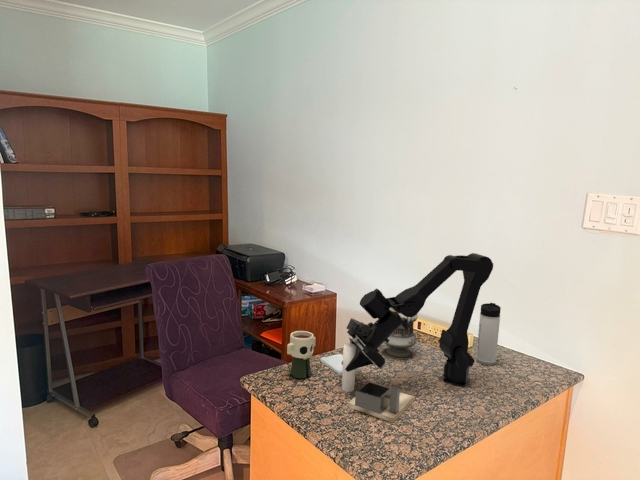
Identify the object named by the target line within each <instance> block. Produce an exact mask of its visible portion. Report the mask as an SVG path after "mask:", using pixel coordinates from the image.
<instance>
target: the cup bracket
mask: <svg viewBox="0 0 640 480" xmlns="http://www.w3.org/2000/svg"><path fill="white" fill-rule="evenodd" d="M400 392H401V388H400V387H397V386H395V385H393V386H392V387H389V386H386V385H383V384H380V383H376V382H372V381H370V380H368V381H366V382H365V383H364V384H362V385H361V386H360V387H359V388H357V389H356V390H355V395H354V397H355V406H358V407H361V408H364V409H367V410H370V411H373V412H376V413H379V414H381V413H382V412H383V411H384V410H385V409H386V408H387V407H388V406H389V405H390V407H389V412H390V413H393V414H397V413H398V412H399V397H400Z"/></svg>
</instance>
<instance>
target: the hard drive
mask: <svg viewBox="0 0 640 480" xmlns="http://www.w3.org/2000/svg"><path fill="white" fill-rule="evenodd" d="M319 360H320V361H321V362H322V363H323V364H324V365H325V366H327V367H328V368H329V369H331V370H332V371H333V372H335V373H336V374H337V375H338V376H342V371H343V365H342V364H341V363H342V361H343V354H341V353H339V354H334V355H328V356H322V357H320V359H319ZM362 370H363V369H362V367H360V368H357V369H355V373H358V372H362Z"/></svg>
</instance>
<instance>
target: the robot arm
mask: <svg viewBox="0 0 640 480" xmlns="http://www.w3.org/2000/svg"><path fill="white" fill-rule="evenodd" d="M493 269H494V263H493V261H492V259H491V258H490V257H489V256H485V255H482V254H479V253H475V252H473V253H472V252H471V253H470V254H467V255H461V254H460V255H453V254H452V255H451V254H450V255H449V254H448V255H446V256H445V257H444V258H443V260H442V261H441V262H440V263H438V265H436V266H435V267H434V268H433V269H432V270H431V271H429V272H428V274H427V275H425V276H424V277H423V278H422V279H421V280H420V281H419V282H417V284H415V285H413V286H411V287H409V288H406V289H404V290H403V291H401V292H400V293H398V294H397V295H396V296H392V297H385V296H384V294H383V292H382V291H381V290H380V289H378V288H375V289H374V290H373V291H369V292H367V293H366V294H364V295H363V296H362V298H361V299H360V301H359V305H360V306H361V307H362V309H364V310H365V312H366V313H367V314H368V315H369V316H370V317H371V318H372V319H377V320H375V322H374V323H373V322H368V323H364V322H362V321H359V320H356V319H354V318H350V319H349V322H348V324H347V326H346V330H347V331H346V333H347V334H348V335H349V336H350V337H348V338H349V339H348V340H349V344H354V345H356V355H355V357H354V358H353V359H352V360H351V362H350V363H349V364H348V365H347V367H346V368H345V370H346V371H347V372H349V371H352V370H354V369H357V368H362V367H367V366H370V365H372V366H373V365H375V366H377V368H379V369H381V368H383V366H384V365H386V359H385V357H384V356H382V354H381V353H380V350H379V348H380V347H381V346H382V345H383V344H385V343H384V342H385V341H386V342H387V343H388V342H389V341H390V340H389V339H388V338H389V337H390V336H391V335H392V333H393V332H394V331H395V330H396V329H397V328H398V327H399V326H400V325H401V326H402V327H404V328H405V329H407V328H408V326H407V321H408V320H407V319H406V318H402V317H401V316H400V315H399V314H398V313H401V314H403V315H404V316H406V317H414V316H415V315H417V316H418V314H419V313H420V311H421V310H422V308H424V306H425V303H426V300H427V299H428V298H429V297H430V296H431V294H433V292H435V291H436V290H437V289H438V288H439V287H440V286H441V285H442V284H444V283H445V282H446V281H447V280H448V279H449V278H451V277H452V275H453V274H454V273H456V272H457V271H461V272H462V275H463V284H462V286H461V287H462V288H461V291H460V295H459V297H458V301H457V305H456V308H455V310H454V313H453V319H452V321H451V324H450V326H449V327H448V329H446V330H445V329H442V330H441V332H440V333H441V334H440V337H439V339H438V340H437V342H438V343H439V345H438V347H439V349H440V350H441V352H442V353H443V356H444V358H447V359H446V362H445V363H444V364H443V380H442V381H443V382H445V383H448V384H453V385H456V386H459V387H463V388H464V387H466V385H467V384H468V383H469V381H470V380H471V378H470V377H469V376H470V374H469V373H470V367H473V366H474V363H475V361H476V359H474V357H472V355H471V354H470V353H469V352H468V350H469V344H470V343H469V337H468V336H469V335H468V331H469V326H470V324H471V320H472V316H473V313H474V310H475V307H476V304H477V300H478V296H479V293H480V291H481V287H482V286H483V285H484V284H485V283H486V281H488V280H489V278H490V276H491V274H492V271H493ZM390 308H392V309H393V310H394V311H396V312H391V311H390V310H389V309H390ZM397 312H398V313H397ZM341 364H342V365H343V361H342V363H341Z"/></svg>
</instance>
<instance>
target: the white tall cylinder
mask: <svg viewBox="0 0 640 480" xmlns="http://www.w3.org/2000/svg"><path fill="white" fill-rule="evenodd" d="M342 355H343V371H342V375H341V376H342V377H341V391H342V392H346V393H352V392H354V391H355V380H356V379H355V377H356V372H355V369H354V370H352V371H349V372H347V371H346V370H345V368H346V367H347V365H348V364H349V363H350V362H351V360H352V359H353V358H354V357H355V355H356V345H354V344H350V343H345V344H343V351H342Z"/></svg>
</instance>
